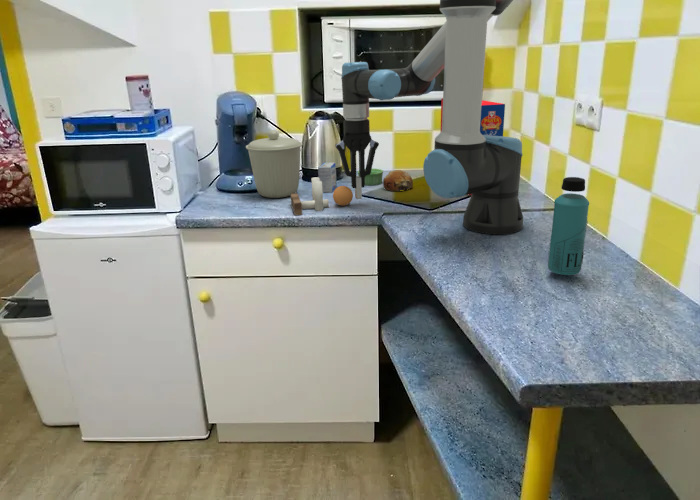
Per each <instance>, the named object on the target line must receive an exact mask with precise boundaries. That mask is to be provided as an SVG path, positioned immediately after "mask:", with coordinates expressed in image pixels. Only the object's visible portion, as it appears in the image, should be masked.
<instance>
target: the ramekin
mask: <svg viewBox="0 0 700 500" xmlns="http://www.w3.org/2000/svg"><path fill="white" fill-rule="evenodd" d="M383 174H384V170H383V169H381V168H372V169H371V174H370V175H366V176H365V186H369V187H371V186H378V185H381V184H382V183H383ZM357 176H360V175H359V170H358V171H357Z"/></svg>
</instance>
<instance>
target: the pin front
mask: <svg viewBox="0 0 700 500" xmlns="http://www.w3.org/2000/svg"><path fill="white" fill-rule="evenodd" d="M300 201H301V203H302V210H308V209H309V210H310V209H311V210H313V209H315V200H313V199H312V200H303V201H302V200H300ZM329 207H330V203H329V199H328V198H326V199H323V209H325V208H329Z"/></svg>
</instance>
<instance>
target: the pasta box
mask: <svg viewBox="0 0 700 500" xmlns="http://www.w3.org/2000/svg"><path fill="white" fill-rule="evenodd" d="M505 110H506V103H501V102H494V101H488V100H483V99H482V106H481V120H480V133H481V134H482V135H493V136H504V124H505V113H506V112H505ZM442 113H443V97H442V98H441V105H440V131H439V132H440V133H441V131H442ZM440 133H439V134H440ZM469 195H471V194H469ZM469 195H468V196H469Z"/></svg>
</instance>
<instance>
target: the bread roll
mask: <svg viewBox="0 0 700 500" xmlns="http://www.w3.org/2000/svg"><path fill="white" fill-rule="evenodd" d="M382 183H383V188H385V189H386V190H385V189H384V190H385V191H388V190H390V191H389V192H394V191H396V192H401V191H400V190H407V189H409V190H410V188H411V189H412V187H413V185H414V183H413V178H412V176H411V174H409V173H408V172H406V171H405V170H401V169H396V170H390V171H389V172H388V173H387V175H385V176H384V178H382ZM407 191H408V190H407Z"/></svg>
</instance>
